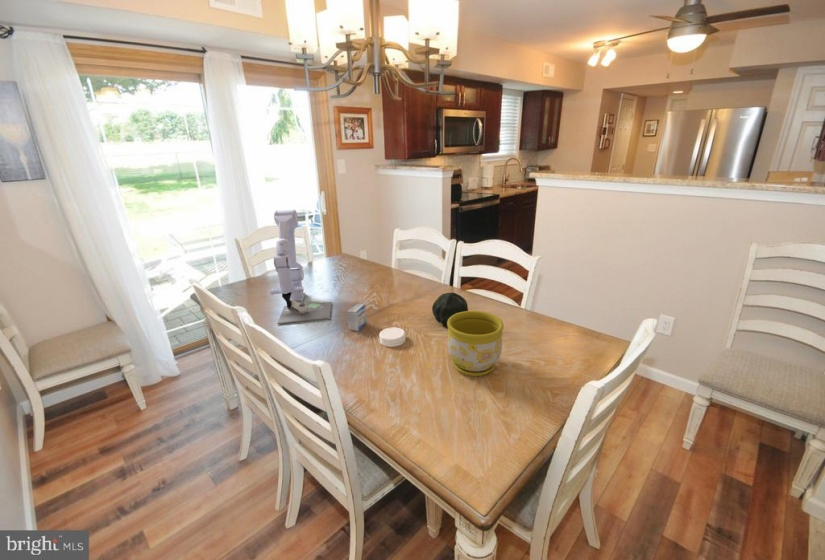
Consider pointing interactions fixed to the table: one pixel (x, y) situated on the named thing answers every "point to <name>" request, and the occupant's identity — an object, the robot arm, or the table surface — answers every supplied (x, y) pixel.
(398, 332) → the coaster
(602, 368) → the table surface
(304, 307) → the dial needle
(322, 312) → the dial base
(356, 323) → the medicine box
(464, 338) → the flowerpot
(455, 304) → the squash
